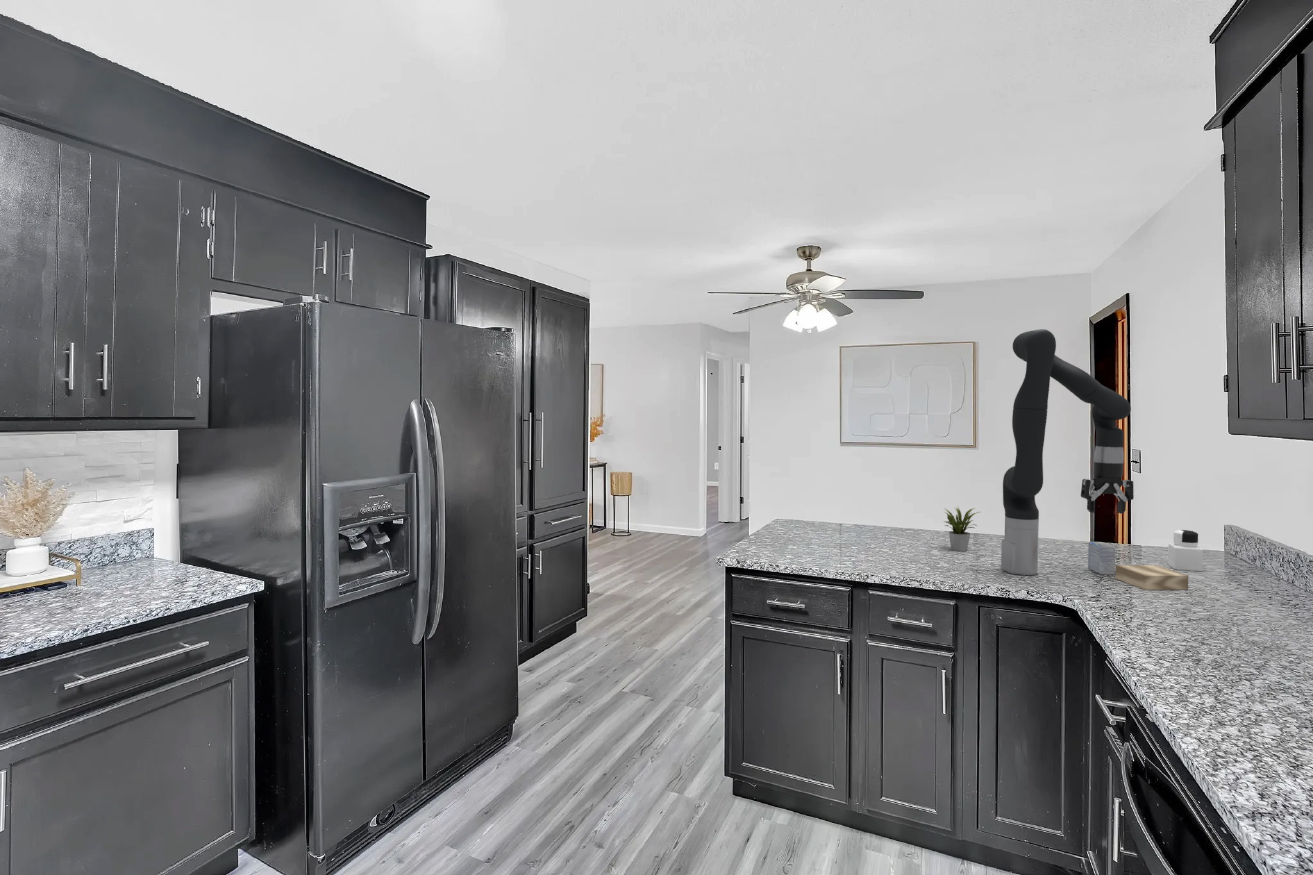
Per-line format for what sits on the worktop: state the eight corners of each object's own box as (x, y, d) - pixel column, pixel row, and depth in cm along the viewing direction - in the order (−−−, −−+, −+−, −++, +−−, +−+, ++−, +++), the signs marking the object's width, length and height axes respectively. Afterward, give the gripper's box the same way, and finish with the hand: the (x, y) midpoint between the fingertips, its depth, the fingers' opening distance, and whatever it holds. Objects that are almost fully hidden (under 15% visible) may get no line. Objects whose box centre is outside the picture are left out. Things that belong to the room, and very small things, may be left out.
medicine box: (1115, 575, 198) (1116, 547, 197) (1099, 574, 199) (1099, 546, 198) (1102, 568, 206) (1103, 541, 205) (1087, 568, 206) (1088, 541, 206)
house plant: (987, 548, 235) (988, 504, 235) (983, 556, 224) (983, 509, 223) (944, 544, 243) (945, 501, 242) (938, 551, 231) (939, 506, 231)
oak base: (1144, 589, 182) (1145, 575, 182) (1115, 578, 194) (1115, 565, 194) (1187, 589, 182) (1188, 575, 182) (1155, 578, 194) (1156, 565, 194)
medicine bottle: (1195, 566, 207) (1196, 529, 207) (1202, 571, 201) (1204, 533, 200) (1167, 564, 210) (1168, 528, 210) (1174, 569, 204) (1175, 532, 203)
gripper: (1091, 461, 197) (1088, 514, 198) (1140, 462, 196) (1138, 515, 197) (1077, 459, 205) (1075, 510, 206) (1125, 460, 204) (1122, 511, 204)
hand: (1106, 512), depth 201 cm, fingers open, 8 cm apart
